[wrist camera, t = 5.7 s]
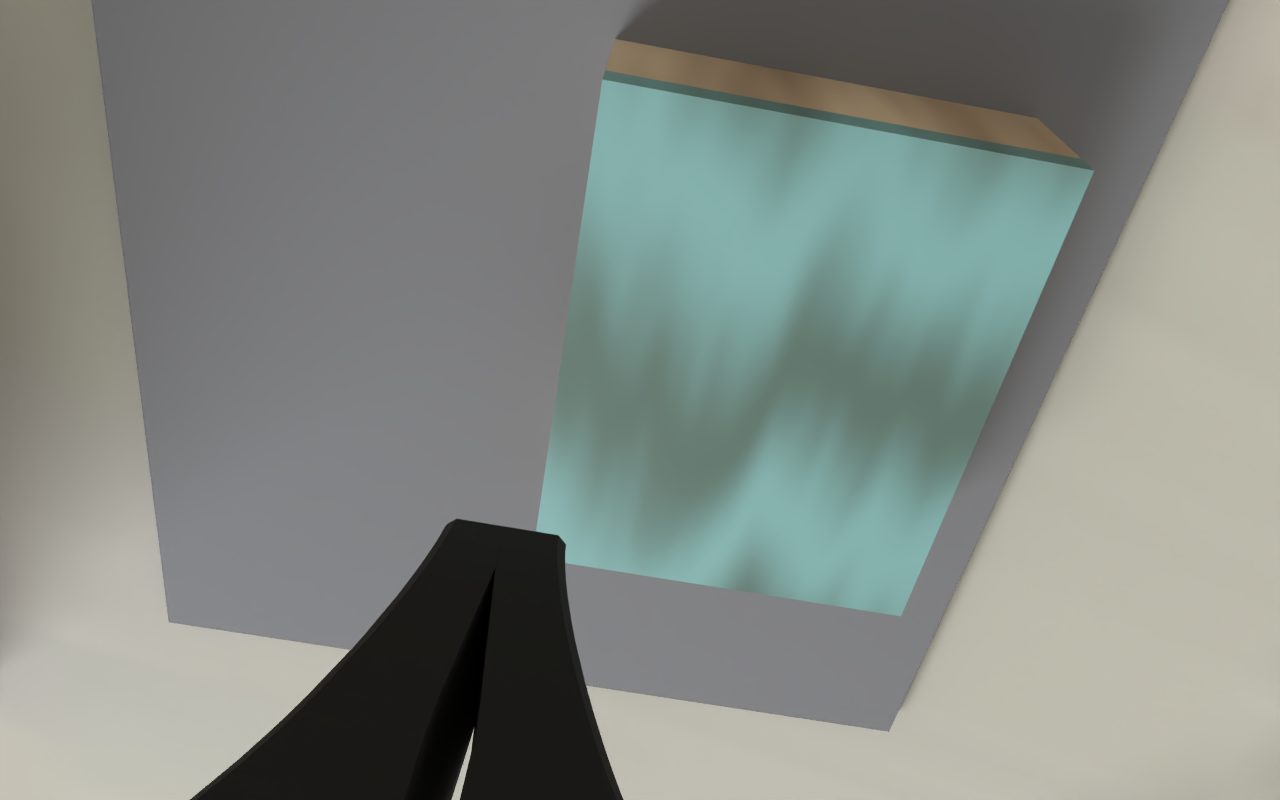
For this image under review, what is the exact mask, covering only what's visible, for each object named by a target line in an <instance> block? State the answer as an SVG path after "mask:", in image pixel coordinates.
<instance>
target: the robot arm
mask: <svg viewBox="0 0 1280 800" xmlns="http://www.w3.org/2000/svg"><path fill="white" fill-rule="evenodd" d="M565 550H566V544H565V543H564V541H563V540H562V539H561V538H560V536H559V535H554V534H548V533H542V532H536V531H530V530H524V529H517V528H511V527H505V526H499V525H493V524H487V523H481V522H475V521H469V520H462V519H455V520H453V521H451V522H450V523H448V524H446V526H445V528H444V529H443V531H442V533H441V535H440V536H439V538H438V539H437V541H436V543H435V544H434V546H433V547H432V549H431V550H430V552H429V553H428V555H427V556H426V558H425V559H424V560H423V562H422V563H421V565H420V566H419V567H418V569H417V570H416V571H415V573H414V574H413V575H412V577H411V578H410V579H409V581H408V582H407V583H406V585H405V586H404V587H403V589H402V590H401V591H400V592H399V594H398V595H397V596H396V598H395V599H394V600H393V601H392V602H391V603H390V605H389V606H388V607H387V608H386V609H385V611H384V612H383V613H382V614H381V615H380V617H379V618H378V619H377V620H376V621H375V623H374V624H373V625H372V626H371V627H370V629H369V630H368V631H367V632H366V633H365V634H364V636H363V637H362V638H361V639H360V640H359V641H358V642H357V644H356V645H355V646H354V647H353V648H352V649H351V650H350V651H349V652H348V653H347V654H346V655H345V657H344V658H343V659H342V660H341V661H340V662H339V663H338V664H337V665H336V666H335V667H334V668H333V669H332V670H331V671H330V672H329V673H328V674H327V675H326V677H325V678H324V679H323V680H322V681H321V682H320V683H319V684H318V685H317V686H316V687H315V688H314V689H313V690H312V691H311V692H310V693H309V694H308V695H307V696H306V697H305V698H304V699H303V700H302V701H301V702H300V703H299V704H298V705H297V706H296V707H295V708H294V709H293V710H292V711H291V712H290V713H289V714H288V715H287V716H286V717H285V718H284V719H283V720H282V721H281V722H279V723H278V724H277V725H276V726H275V727H274V728H273V729H272V730H271V731H270V732H269V733H268V734H267V735H265V736H264V737H263V738H262V739H261V740H260V741H259V742H258V743H257V744H255V745H254V746H253V747H252V748H251V749H250V750H249V751H248V752H246V753H245V754H244V755H243V756H242V757H241V758H240V759H239V760H237V761H236V762H235V763H234V764H233V765H232V766H230V767H229V768H228V769H227V770H226V771H224V772H223V773H222V774H221V775H219V776H218V777H217V778H216V779H215V780H213V781H212V782H211V783H210V784H209V785H207V786H206V787H205V788H204V789H202V790H201V791H200V792H199V793H198V794H196V795H195V796H194V797H193V798H192V799H190V800H451V799H452V796H453V793H454V790H455V786H456V783H457V780H458V777H459V774H460V771H461V768H462V764H463V761H464V758H465V755H466V752H467V749H468V745H469V742H470V739H471V736H472V733H473V729H474V735H473V743H472V752H471V756H470V760H469V764H468V769H467V773H466V777H465V781H464V785H463V789H462V793H461V798H460V800H623V798H622V795H621V793H620V790H619V788H618V785H617V782H616V779H615V777H614V774H613V771H612V768H611V765H610V763H609V760H608V757H607V754H606V751H605V748H604V745H603V742H602V738H601V735H600V732H599V729H598V726H597V722H596V719H595V716H594V713H593V709H592V706H591V702H590V699H589V695H588V691H587V688H586V684H585V680H584V676H583V671H582V667H581V663H580V659H579V654H578V650H577V646H576V642H575V636H574V631H573V626H572V621H571V614H570V608H569V601H568V594H567V585H566V572H565Z"/></svg>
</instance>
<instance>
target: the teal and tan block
mask: <svg viewBox="0 0 1280 800" xmlns="http://www.w3.org/2000/svg"><path fill="white" fill-rule="evenodd" d="M1093 172H1094V170H1093V169H1092V168H1091V167H1090V166H1089V165H1088V164H1087V163H1085V162H1084V161H1083V160H1082V159H1081V158H1080V157H1079V156H1078V155H1077V154H1076V153H1075V152H1074V151H1072V150H1071V149H1070V148H1069V147H1068V146H1067V145H1066V144H1065V143H1064V142H1063V141H1062V140H1060V139H1059V138H1058V137H1057V136H1056V135H1055V134H1054V133H1053V132H1052V131H1051V130H1050V129H1049V128H1047V127H1046V126H1045V125H1044V124H1043V123H1042V122H1041V121H1040V120H1039V119H1038V118H1034V117H1029V116H1023V115H1018V114H1013V113H1007V112H1002V111H997V110H991V109H986V108H981V107H975V106H970V105H965V104H959V103H954V102H949V101H943V100H938V99H933V98H927V97H922V96H917V95H911V94H906V93H901V92H895V91H890V90H885V89H879V88H874V87H869V86H863V85H858V84H853V83H847V82H842V81H837V80H831V79H826V78H821V77H815V76H810V75H805V74H800V73H794V72H789V71H784V70H778V69H773V68H768V67H762V66H757V65H752V64H746V63H741V62H736V61H730V60H725V59H720V58H714V57H709V56H704V55H698V54H693V53H688V52H682V51H677V50H672V49H666V48H661V47H656V46H650V45H645V44H640V43H634V42H629V41H624V40H618V39H615V40H614V43H613V47H612V50H611V53H610V56H609V60H608V63H607V66H606V69H605V72H604V76H603V79H602V85H601V92H600V99H599V106H598V112H597V119H596V126H595V133H594V140H593V147H592V153H591V160H590V167H589V174H588V181H587V187H586V194H585V201H584V208H583V215H582V222H581V228H580V235H579V242H578V249H577V256H576V263H575V269H574V276H573V283H572V290H571V297H570V304H569V310H568V317H567V324H566V331H565V338H564V345H563V351H562V358H561V365H560V372H559V379H558V385H557V392H556V399H555V406H554V413H553V420H552V426H551V433H550V440H549V447H548V454H547V461H546V467H545V474H544V481H543V488H542V495H541V502H540V508H539V515H538V522H537V529H536V532H542V533H548V534H554V535H559V536H560V538H561V539H562V540H563V541H564V543H565V544H566V550H565V563H568V564H574V565H580V566H587V567H593V568H599V569H605V570H612V571H618V572H624V573H631V574H637V575H643V576H650V577H656V578H662V579H669V580H675V581H681V582H688V583H694V584H700V585H706V586H713V587H719V588H725V589H732V590H738V591H744V592H751V593H757V594H763V595H770V596H776V597H782V598H788V599H795V600H801V601H807V602H814V603H820V604H826V605H833V606H839V607H845V608H852V609H858V610H864V611H871V612H877V613H883V614H889V615H896V616H901V615H902V613H903V610H904V608H905V606H906V604H907V601H908V599H909V597H910V594H911V592H912V590H913V587H914V585H915V583H916V581H917V578H918V576H919V574H920V571H921V569H922V567H923V564H924V562H925V560H926V557H927V555H928V553H929V551H930V548H931V546H932V544H933V541H934V539H935V537H936V534H937V532H938V530H939V527H940V525H941V523H942V521H943V518H944V516H945V514H946V511H947V509H948V507H949V504H950V502H951V500H952V498H953V495H954V493H955V491H956V488H957V486H958V484H959V481H960V479H961V477H962V474H963V472H964V470H965V468H966V465H967V463H968V461H969V458H970V456H971V454H972V451H973V449H974V447H975V444H976V442H977V440H978V438H979V435H980V433H981V431H982V428H983V426H984V424H985V421H986V419H987V417H988V415H989V412H990V410H991V408H992V405H993V403H994V401H995V398H996V396H997V394H998V391H999V389H1000V387H1001V385H1002V382H1003V380H1004V378H1005V375H1006V373H1007V371H1008V368H1009V366H1010V364H1011V361H1012V359H1013V357H1014V355H1015V352H1016V350H1017V348H1018V345H1019V343H1020V341H1021V338H1022V336H1023V334H1024V332H1025V329H1026V327H1027V325H1028V322H1029V320H1030V318H1031V315H1032V313H1033V311H1034V308H1035V306H1036V304H1037V302H1038V299H1039V297H1040V295H1041V292H1042V290H1043V288H1044V285H1045V283H1046V281H1047V278H1048V276H1049V274H1050V272H1051V269H1052V267H1053V265H1054V262H1055V260H1056V258H1057V255H1058V253H1059V251H1060V249H1061V246H1062V244H1063V242H1064V239H1065V237H1066V235H1067V232H1068V230H1069V228H1070V225H1071V223H1072V221H1073V219H1074V216H1075V214H1076V212H1077V209H1078V207H1079V205H1080V202H1081V200H1082V198H1083V195H1084V193H1085V191H1086V189H1087V186H1088V184H1089V182H1090V179H1091V177H1092V175H1093Z"/></svg>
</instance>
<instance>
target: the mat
mask: <svg viewBox="0 0 1280 800" xmlns="http://www.w3.org/2000/svg"><path fill="white" fill-rule="evenodd" d="M1228 2H1229V0H92V7H93V15H94V23H95V31H96V39H97V47H98V55H99V63H100V71H101V79H102V87H103V95H104V103H105V111H106V119H107V127H108V136H109V144H110V152H111V160H112V168H113V176H114V184H115V192H116V200H117V208H118V216H119V224H120V232H121V240H122V248H123V256H124V264H125V272H126V280H127V289H128V297H129V305H130V313H131V321H132V329H133V337H134V345H135V353H136V361H137V369H138V377H139V385H140V393H141V401H142V409H143V417H144V425H145V434H146V442H147V450H148V458H149V466H150V474H151V482H152V490H153V498H154V506H155V514H156V522H157V530H158V538H159V546H160V554H161V562H162V570H163V578H164V587H165V595H166V603H167V611H168V619H169V622H171V623H178V624H185V625H191V626H198V627H204V628H211V629H217V630H224V631H231V632H237V633H244V634H250V635H257V636H264V637H270V638H277V639H283V640H290V641H296V642H303V643H310V644H316V645H323V646H329V647H336V648H342V649H349V650H351V649H352V648H353V647H354V646H355V645H356V644H357V642H358V641H359V640H360V639H361V638H362V637H363V636H364V634H365V633H366V632H367V631H368V630H369V629H370V627H371V626H372V625H373V624H374V623H375V621H376V620H377V619H378V618H379V617H380V615H381V614H382V613H383V612H384V611H385V609H386V608H387V607H388V606H389V605H390V603H391V602H392V601H393V600H394V599H395V598H396V596H397V595H398V594H399V592H400V591H401V590H402V589H403V587H404V586H405V585H406V583H407V582H408V581H409V579H410V578H411V577H412V575H413V574H414V573H415V571H416V570H417V569H418V567H419V566H420V565H421V563H422V562H423V560H424V559H425V558H426V556H427V555H428V553H429V552H430V550H431V549H432V547H433V546H434V544H435V543H436V541H437V539H438V538H439V536H440V535H441V533H442V531H443V529H444V528H445V526H446V524H448V523H450V522H451V521H453V520H455V519H462V520H469V521H475V522H481V523H487V524H493V525H499V526H505V527H511V528H517V529H524V530H530V531H536V529H537V522H538V515H539V508H540V502H541V495H542V488H543V481H544V474H545V467H546V461H547V454H548V447H549V440H550V433H551V426H552V420H553V413H554V406H555V399H556V392H557V385H558V379H559V372H560V365H561V358H562V351H563V345H564V338H565V331H566V324H567V317H568V310H569V304H570V297H571V290H572V283H573V276H574V269H575V263H576V256H577V249H578V242H579V235H580V228H581V222H582V215H583V208H584V201H585V194H586V187H587V181H588V174H589V167H590V160H591V153H592V147H593V140H594V133H595V126H596V119H597V112H598V106H599V99H600V92H601V85H602V79H603V76H604V72H605V69H606V66H607V63H608V60H609V56H610V53H611V50H612V47H613V43H614V40H615V39H618V40H624V41H629V42H634V43H640V44H645V45H650V46H656V47H661V48H666V49H672V50H677V51H682V52H688V53H693V54H698V55H704V56H709V57H714V58H720V59H725V60H730V61H736V62H741V63H746V64H752V65H757V66H762V67H768V68H773V69H778V70H784V71H789V72H794V73H800V74H805V75H810V76H815V77H821V78H826V79H831V80H837V81H842V82H847V83H853V84H858V85H863V86H869V87H874V88H879V89H885V90H890V91H895V92H901V93H906V94H911V95H917V96H922V97H927V98H933V99H938V100H943V101H949V102H954V103H959V104H965V105H970V106H975V107H981V108H986V109H991V110H997V111H1002V112H1007V113H1013V114H1018V115H1023V116H1029V117H1034V118H1038V119H1039V120H1040V121H1041V122H1042V123H1043V124H1044V125H1045V126H1046V127H1047V128H1049V129H1050V130H1051V131H1052V132H1053V133H1054V134H1055V135H1056V136H1057V137H1058V138H1059V139H1060V140H1062V141H1063V142H1064V143H1065V144H1066V145H1067V146H1068V147H1069V148H1070V149H1071V150H1072V151H1074V152H1075V153H1076V154H1077V155H1078V156H1079V157H1080V158H1081V159H1082V160H1083V161H1084V162H1085V163H1087V164H1088V165H1089V166H1090V167H1091V168H1092V169H1093V170H1094V172H1093V175H1092V177H1091V179H1090V182H1089V184H1088V186H1087V189H1086V191H1085V193H1084V195H1083V198H1082V200H1081V202H1080V205H1079V207H1078V209H1077V212H1076V214H1075V216H1074V219H1073V221H1072V223H1071V225H1070V228H1069V230H1068V232H1067V235H1066V237H1065V239H1064V242H1063V244H1062V246H1061V249H1060V251H1059V253H1058V255H1057V258H1056V260H1055V262H1054V265H1053V267H1052V269H1051V272H1050V274H1049V276H1048V278H1047V281H1046V283H1045V285H1044V288H1043V290H1042V292H1041V295H1040V297H1039V299H1038V302H1037V304H1036V306H1035V308H1034V311H1033V313H1032V315H1031V318H1030V320H1029V322H1028V325H1027V327H1026V329H1025V332H1024V334H1023V336H1022V338H1021V341H1020V343H1019V345H1018V348H1017V350H1016V352H1015V355H1014V357H1013V359H1012V361H1011V364H1010V366H1009V368H1008V371H1007V373H1006V375H1005V378H1004V380H1003V382H1002V385H1001V387H1000V389H999V391H998V394H997V396H996V398H995V401H994V403H993V405H992V408H991V410H990V412H989V415H988V417H987V419H986V421H985V424H984V426H983V428H982V431H981V433H980V435H979V438H978V440H977V442H976V444H975V447H974V449H973V451H972V454H971V456H970V458H969V461H968V463H967V465H966V468H965V470H964V472H963V474H962V477H961V479H960V481H959V484H958V486H957V488H956V491H955V493H954V495H953V498H952V500H951V502H950V504H949V507H948V509H947V511H946V514H945V516H944V518H943V521H942V523H941V525H940V527H939V530H938V532H937V534H936V537H935V539H934V541H933V544H932V546H931V548H930V551H929V553H928V555H927V557H926V560H925V562H924V564H923V567H922V569H921V571H920V574H919V576H918V578H917V581H916V583H915V585H914V587H913V590H912V592H911V594H910V597H909V599H908V601H907V604H906V606H905V608H904V610H903V613H902V615H901V616H896V615H889V614H883V613H877V612H871V611H864V610H858V609H852V608H845V607H839V606H833V605H826V604H820V603H814V602H807V601H801V600H795V599H788V598H782V597H776V596H770V595H763V594H757V593H751V592H744V591H738V590H732V589H725V588H719V587H713V586H706V585H700V584H694V583H688V582H681V581H675V580H669V579H662V578H656V577H650V576H643V575H637V574H631V573H624V572H618V571H612V570H605V569H599V568H593V567H587V566H580V565H574V564H568V563H565V572H566V585H567V594H568V601H569V608H570V614H571V621H572V626H573V631H574V636H575V642H576V646H577V650H578V654H579V659H580V663H581V667H582V671H583V676H584V680H585V684H586V686H593V687H599V688H606V689H612V690H619V691H626V692H632V693H639V694H645V695H652V696H658V697H665V698H672V699H678V700H685V701H691V702H698V703H705V704H711V705H718V706H724V707H731V708H737V709H744V710H751V711H757V712H764V713H770V714H777V715H784V716H790V717H797V718H803V719H810V720H816V721H823V722H830V723H836V724H843V725H849V726H856V727H863V728H869V729H876V730H882V731H889V730H890V728H891V726H892V724H893V722H894V719H895V717H896V715H897V713H898V711H899V709H900V706H901V704H902V702H903V700H904V698H905V696H906V694H907V691H908V689H909V687H910V685H911V683H912V681H913V679H914V676H915V674H916V672H917V670H918V668H919V666H920V663H921V661H922V659H923V657H924V655H925V653H926V651H927V648H928V646H929V644H930V642H931V640H932V638H933V636H934V633H935V631H936V629H937V627H938V625H939V623H940V621H941V618H942V616H943V614H944V612H945V610H946V608H947V605H948V603H949V601H950V599H951V597H952V595H953V593H954V590H955V588H956V586H957V584H958V582H959V580H960V578H961V575H962V573H963V571H964V569H965V567H966V565H967V562H968V560H969V558H970V556H971V554H972V552H973V550H974V547H975V545H976V543H977V541H978V539H979V537H980V535H981V532H982V530H983V528H984V526H985V524H986V522H987V520H988V517H989V515H990V513H991V511H992V509H993V507H994V504H995V502H996V500H997V498H998V496H999V494H1000V492H1001V489H1002V487H1003V485H1004V483H1005V481H1006V479H1007V477H1008V474H1009V472H1010V470H1011V468H1012V466H1013V464H1014V461H1015V459H1016V457H1017V455H1018V453H1019V451H1020V449H1021V446H1022V444H1023V442H1024V440H1025V438H1026V436H1027V434H1028V431H1029V429H1030V427H1031V425H1032V423H1033V421H1034V418H1035V416H1036V414H1037V412H1038V410H1039V408H1040V406H1041V403H1042V401H1043V399H1044V397H1045V395H1046V393H1047V391H1048V388H1049V386H1050V384H1051V382H1052V380H1053V378H1054V376H1055V373H1056V371H1057V369H1058V367H1059V365H1060V363H1061V360H1062V358H1063V356H1064V354H1065V352H1066V350H1067V348H1068V345H1069V343H1070V341H1071V339H1072V337H1073V335H1074V333H1075V330H1076V328H1077V326H1078V324H1079V322H1080V320H1081V317H1082V315H1083V313H1084V311H1085V309H1086V307H1087V305H1088V302H1089V300H1090V298H1091V296H1092V294H1093V292H1094V290H1095V287H1096V285H1097V283H1098V281H1099V279H1100V277H1101V275H1102V272H1103V270H1104V268H1105V266H1106V264H1107V262H1108V259H1109V257H1110V255H1111V253H1112V251H1113V249H1114V247H1115V244H1116V242H1117V240H1118V238H1119V236H1120V234H1121V232H1122V229H1123V227H1124V225H1125V223H1126V221H1127V219H1128V216H1129V214H1130V212H1131V210H1132V208H1133V206H1134V204H1135V201H1136V199H1137V197H1138V195H1139V193H1140V191H1141V189H1142V186H1143V184H1144V182H1145V180H1146V178H1147V176H1148V174H1149V171H1150V169H1151V167H1152V165H1153V163H1154V161H1155V158H1156V156H1157V154H1158V152H1159V150H1160V148H1161V146H1162V143H1163V141H1164V139H1165V137H1166V135H1167V133H1168V131H1169V128H1170V126H1171V124H1172V122H1173V120H1174V118H1175V115H1176V113H1177V111H1178V109H1179V107H1180V105H1181V103H1182V100H1183V98H1184V96H1185V94H1186V92H1187V90H1188V88H1189V85H1190V83H1191V81H1192V79H1193V77H1194V75H1195V72H1196V70H1197V68H1198V66H1199V64H1200V62H1201V60H1202V57H1203V55H1204V53H1205V51H1206V49H1207V47H1208V45H1209V42H1210V40H1211V38H1212V36H1213V34H1214V32H1215V30H1216V27H1217V25H1218V23H1219V21H1220V19H1221V17H1222V14H1223V12H1224V10H1225V8H1226V6H1227V4H1228Z"/></svg>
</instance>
